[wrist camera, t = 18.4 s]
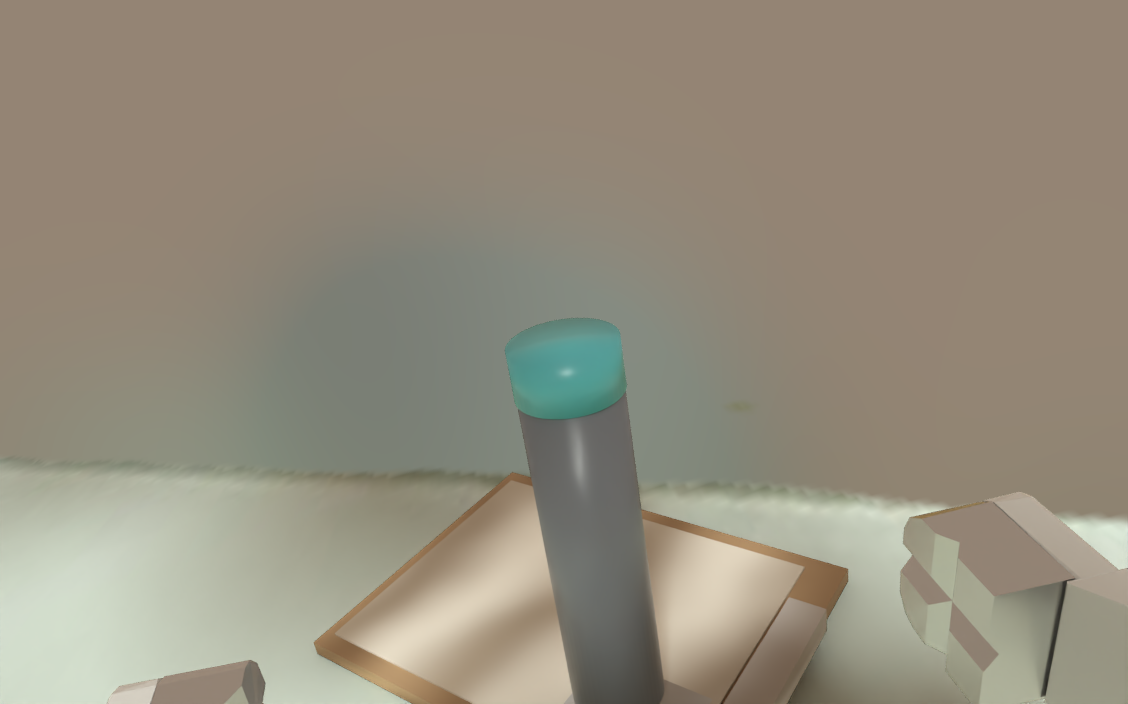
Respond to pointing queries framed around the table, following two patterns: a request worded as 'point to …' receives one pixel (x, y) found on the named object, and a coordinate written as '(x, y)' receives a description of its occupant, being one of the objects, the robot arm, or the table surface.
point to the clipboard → (530, 622)
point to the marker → (589, 506)
